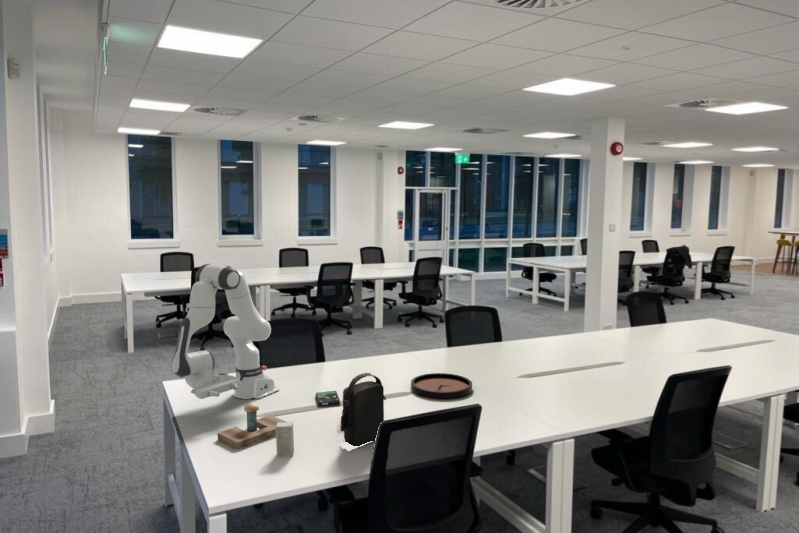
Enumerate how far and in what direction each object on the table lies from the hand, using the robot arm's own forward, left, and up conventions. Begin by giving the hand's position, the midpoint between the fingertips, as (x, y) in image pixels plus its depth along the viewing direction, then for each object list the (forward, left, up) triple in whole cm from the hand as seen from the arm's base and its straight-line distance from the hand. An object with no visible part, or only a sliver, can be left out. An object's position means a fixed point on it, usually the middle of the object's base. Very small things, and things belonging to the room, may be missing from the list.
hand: (227, 391), depth 253 cm
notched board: (0, +19, -14) cm, 24 cm away
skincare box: (+3, +43, -14) cm, 45 cm away
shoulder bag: (-26, +56, -14) cm, 64 cm away
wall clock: (-98, +41, -15) cm, 107 cm away
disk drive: (-48, +11, -15) cm, 51 cm away
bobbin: (0, +17, -14) cm, 22 cm away
